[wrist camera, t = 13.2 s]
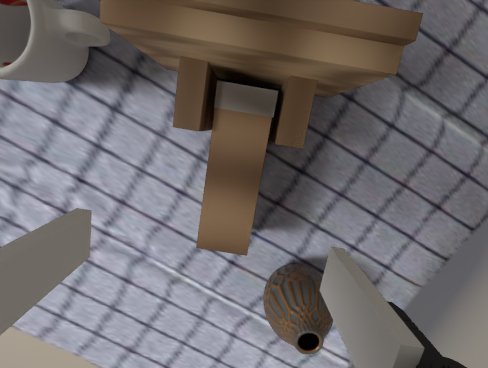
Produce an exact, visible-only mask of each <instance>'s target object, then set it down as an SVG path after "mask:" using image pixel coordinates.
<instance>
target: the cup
mask: <svg viewBox="0 0 488 368" xmlns="http://www.w3.org/2000/svg"><path fill="white" fill-rule="evenodd" d="M109 42H110V32H109V28H108V27H106V26H105V25H103V24H102V23H101V22H100V19H99V18H97V17H96V16H94V15H92V14H89V13H86V12H83V11H78V10H71V9H65V8H64V7H63V6H62V5H61V4H59V3H58V2H57V1H56V0H0V79H5V80H19V81H33V82H47V83H59V82H65V81H68V80H71V79H73V78H75V77H76V76H77V75H79V74H80V73H81V72H82V70H83V69H84V67H85V65H86V63H87V60H88V55H89V47H88V46H105V45H107V44H109Z"/></svg>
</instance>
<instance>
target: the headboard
mask: <svg viewBox="0 0 488 368" xmlns="http://www.w3.org/2000/svg"><path fill="white" fill-rule="evenodd" d="M422 16H423V13H418V12H413V11H407V10H402V9H396V8H391V7H385V6H380V5H374V4H369V3H363V2H358V1H353V0H100V22H101V23H102V24H103V25H105V26H106V27H108V28H109V29H111V30H112V31H113V32H115V33H116V34H118V35H119V36H121V37H122V38H123V39H125V40H126V41H128V42H129V43H131V44H132V45H133V46H135V47H136V48H138V49H139V50H141V51H142V52H143V53H145V54H146V55H148V56H149V57H151V58H152V59H153V60H155V61H156V62H158V63H159V64H161V65H162V66H163V67H165V68H166V69H169V70H175V71H178V81H177V90H176V100H175V110H174V119H173V127H176V128H182V129H188V130H194V131H206V130H211V128H212V121H213V114H214V103H215V95H216V88H217V80H218V78H221V79H226V80H232V81H238V82H244V83H249V84H255V85H261V86H267V87H272V88H278V89H279V91H278V96H277V102H276V107H275V112H274V118H273V123H272V129H271V134H270V139H269V140H271V141H272V142H274V143H275V144H277V145H283V146H289V147H295V148H301V149H303V146H304V141H305V136H306V132H307V127H308V122H309V118H310V113H311V108H312V104H313V99H314V95H319V96H324V97H331V96H334V95H337V94H340V93H343V92H346V91H349V90H352V89H355V88H358V87H360V86H363V85H366V84H369V83H372V82H375V81H378V80H381V79H384V78H387V77H390V76H393V75H396V73H397V69H398V66H399V62H400V59H401V55H402V51H403V48H404V46H406V45H408V44H410V43H412V42H414V41H416V37H417V34H418V30H419V27H420V23H421V20H422Z"/></svg>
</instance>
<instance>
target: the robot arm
mask: <svg viewBox="0 0 488 368" xmlns="http://www.w3.org/2000/svg"><path fill="white" fill-rule="evenodd" d="M90 235H91V210H85V209H79V208H76V209H74V210H72V211H70V212H69V213H67V214H65V215H63V216H61V217H59V218H57V219H55V220H53V221H51V222H49V223H47V224H45V225H43V226H41V227H39V228H37V229H35V230H34V231H32V232H30V233H28V234H26V235H24V236H22V237H20V238H18V239H16V240H14V241H12V242H10V243H8V244H6V245H4V246H2V247H0V335H1V334H2V333H3V332H5V331H6V330H7V329H8V328H9V327H10V326H11V325H13V324H14V323H15V322H16V321H17V320H18V319H19V318H21V317H22V316H23V315H24V314H25V313H26V312H27V311H29V310H30V309H31V308H32V307H33V306H34V305H35V304H37V303H38V302H39V301H40V300H41V299H42V298H43V297H45V296H46V295H47V294H48V293H49V292H50V291H51V290H53V289H54V288H55V287H56V286H57V285H58V284H59V283H61V282H62V281H63V280H64V279H65V278H66V277H67V276H69V275H70V274H71V273H72V272H73V271H74V270H75V269H77V268H78V267H79V266H80V265H81V264H82V263H83V262H84V261H86V260H87V259H88V258H89V257H90ZM320 292H321V295H322V297H323V299H324V301H325V303H326V305H327V308H328V310H329V312H330V314H331V316H332V318H333V321H334V323H335V325H336V327H337V329H338V331H339V334H340V336H341V338H342V340H343V342H344V344H345V347H346V349H347V351H348V353H349V355H350V357H351V359H352V362H353V364H354V366H355V368H466V367H465V366H463V365H462V364H460V363H458V362H456V361H454V360H452V359H450V358H446V357H443V356H442V355H441V354H440V353H439V352H438V351H437V349H436V348H435V347H434V346H433V345H432V344H431V342H430V341H429V340H428V339H427V338H426V337H425V336H424V334H423V333H422V332H421V331H420V330H418V327H417V326H416V325H415V324H414V323H413V322H412V321H411V319H410V318H409V317H408V316H407V315H406V313H405V312H404V311H403V310H402V309H400V308H399V307H398V306H396V305H395V304H394V303H392V302H387V301H386V300H385V299H384V297H383V296H382V295H381V294H380V292H379V291H378V290H377V289H376V288H375V286H374V285H373V284H372V283H371V281H370V280H369V279H368V278H367V276H366V275H365V274H364V273H363V271H362V270H361V269H360V268H359V267H358V265H357V264H356V263H355V262H354V260H353V259H352V258H351V257H350V255H349V254H348V253H347V252H346V251H345V249H342V248H336V247H330V251H329V255H328V259H327V263H326V267H325V271H324V274H323V278H322V282H321V286H320Z"/></svg>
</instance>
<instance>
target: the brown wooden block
mask: <svg viewBox="0 0 488 368" xmlns="http://www.w3.org/2000/svg"><path fill="white" fill-rule="evenodd" d="M277 94H278V91H276V90H270V89H264V88H258V87H253V86H247V85H241V84H235V83H229V82H224V81H218V80H217V88H216V95H215V103H214V108H215V112H214V120H213V127H212V135H211V142H210V150H209V157H208V164H207V172H206V179H205V187H204V194H203V202H202V209H201V216H200V224H199V231H198V239H197V246H196V248H201V249H208V250H214V251H220V252H227V253H233V254H240V255H246V256H247V252H248V246H249V241H250V235H251V230H252V224H253V219H254V213H255V208H256V202H257V197H258V191H259V186H260V180H261V175H262V169H263V164H264V158H265V153H266V147H267V142H268V136H269V131H270V125H271V120H272V118H273V116H274V111H275V105H276V100H277Z"/></svg>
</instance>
